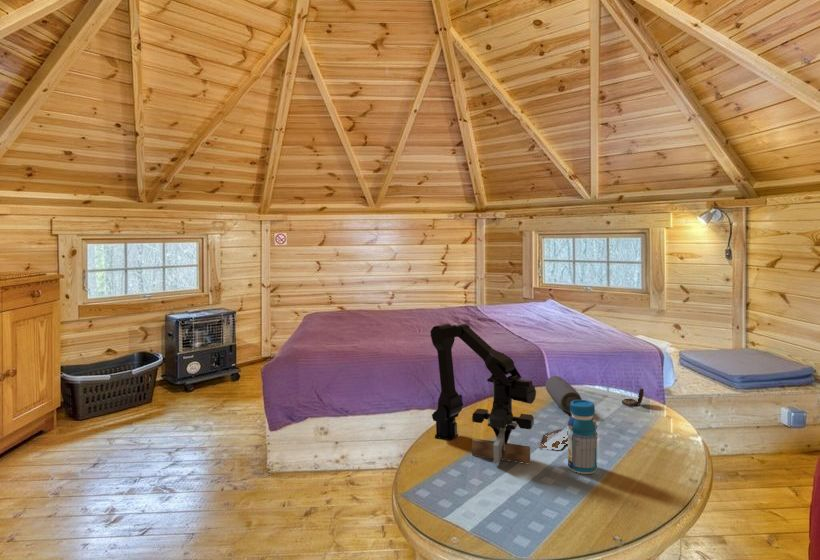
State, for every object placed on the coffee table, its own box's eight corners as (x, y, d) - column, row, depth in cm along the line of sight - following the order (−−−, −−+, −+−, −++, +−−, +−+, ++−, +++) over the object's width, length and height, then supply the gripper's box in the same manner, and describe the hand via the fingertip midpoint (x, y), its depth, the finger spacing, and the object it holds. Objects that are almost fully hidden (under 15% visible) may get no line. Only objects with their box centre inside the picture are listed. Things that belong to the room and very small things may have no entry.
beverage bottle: (583, 477, 137) (583, 409, 135) (561, 466, 144) (561, 401, 143) (603, 470, 141) (604, 404, 139) (581, 459, 148) (581, 396, 147)
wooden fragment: (555, 455, 152) (555, 452, 152) (526, 444, 161) (526, 441, 160) (595, 432, 169) (595, 430, 169) (567, 424, 178) (567, 421, 177)
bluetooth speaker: (584, 415, 185) (584, 390, 184) (559, 416, 185) (559, 391, 184) (565, 396, 208) (565, 374, 207) (544, 397, 208) (544, 374, 207)
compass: (623, 400, 201) (623, 383, 200) (644, 403, 196) (644, 386, 196) (619, 406, 195) (619, 388, 194) (640, 409, 190) (640, 391, 189)
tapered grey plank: (493, 463, 145) (493, 444, 144) (502, 444, 156) (502, 427, 155) (498, 464, 145) (498, 445, 144) (507, 445, 156) (506, 427, 155)
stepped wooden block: (472, 455, 153) (472, 440, 153) (473, 453, 155) (473, 438, 154) (529, 464, 146) (529, 448, 146) (530, 462, 147) (530, 446, 147)
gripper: (466, 401, 149) (467, 450, 150) (527, 408, 141) (528, 459, 142) (476, 391, 159) (477, 436, 160) (534, 397, 151) (534, 444, 152)
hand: (502, 444), depth 153 cm, fingers closed on tapered grey plank, 1 cm apart
